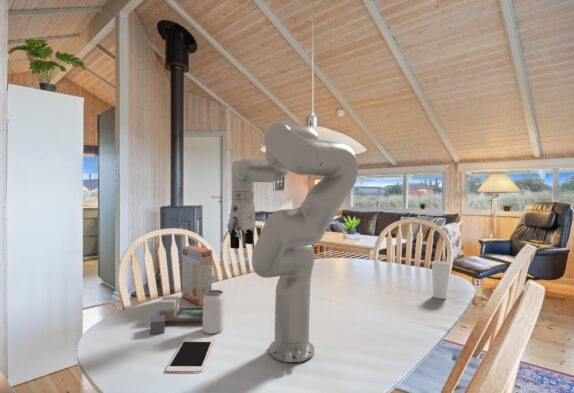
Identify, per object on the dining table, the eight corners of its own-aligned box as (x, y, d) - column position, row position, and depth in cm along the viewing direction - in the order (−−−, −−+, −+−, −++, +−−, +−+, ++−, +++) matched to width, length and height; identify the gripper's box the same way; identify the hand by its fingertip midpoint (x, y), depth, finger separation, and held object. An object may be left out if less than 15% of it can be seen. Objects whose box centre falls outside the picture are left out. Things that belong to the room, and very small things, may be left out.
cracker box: (212, 303, 131) (213, 249, 130) (198, 306, 127) (198, 251, 126) (194, 294, 141) (195, 244, 141) (181, 297, 137) (181, 246, 136)
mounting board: (217, 325, 111) (218, 305, 111) (155, 325, 110) (155, 305, 109) (222, 311, 123) (223, 293, 123) (166, 311, 122) (167, 293, 121)
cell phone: (214, 340, 101) (214, 337, 101) (201, 374, 83) (201, 370, 83) (184, 340, 100) (184, 337, 100) (164, 374, 82) (164, 370, 82)
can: (202, 335, 103) (203, 296, 103) (202, 326, 109) (202, 290, 109) (224, 333, 105) (225, 295, 104) (222, 325, 111) (223, 288, 111)
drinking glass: (430, 298, 142) (431, 263, 141) (431, 294, 148) (432, 260, 147) (448, 301, 139) (449, 265, 138) (448, 296, 145) (450, 261, 144)
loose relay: (164, 333, 104) (164, 320, 104) (150, 335, 103) (150, 322, 103) (164, 327, 109) (165, 314, 109) (151, 328, 108) (151, 316, 107)
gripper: (239, 197, 107) (238, 251, 108) (263, 196, 123) (262, 243, 124) (219, 196, 110) (218, 249, 111) (245, 196, 126) (244, 241, 127)
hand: (242, 246), depth 117 cm, fingers open, 9 cm apart
